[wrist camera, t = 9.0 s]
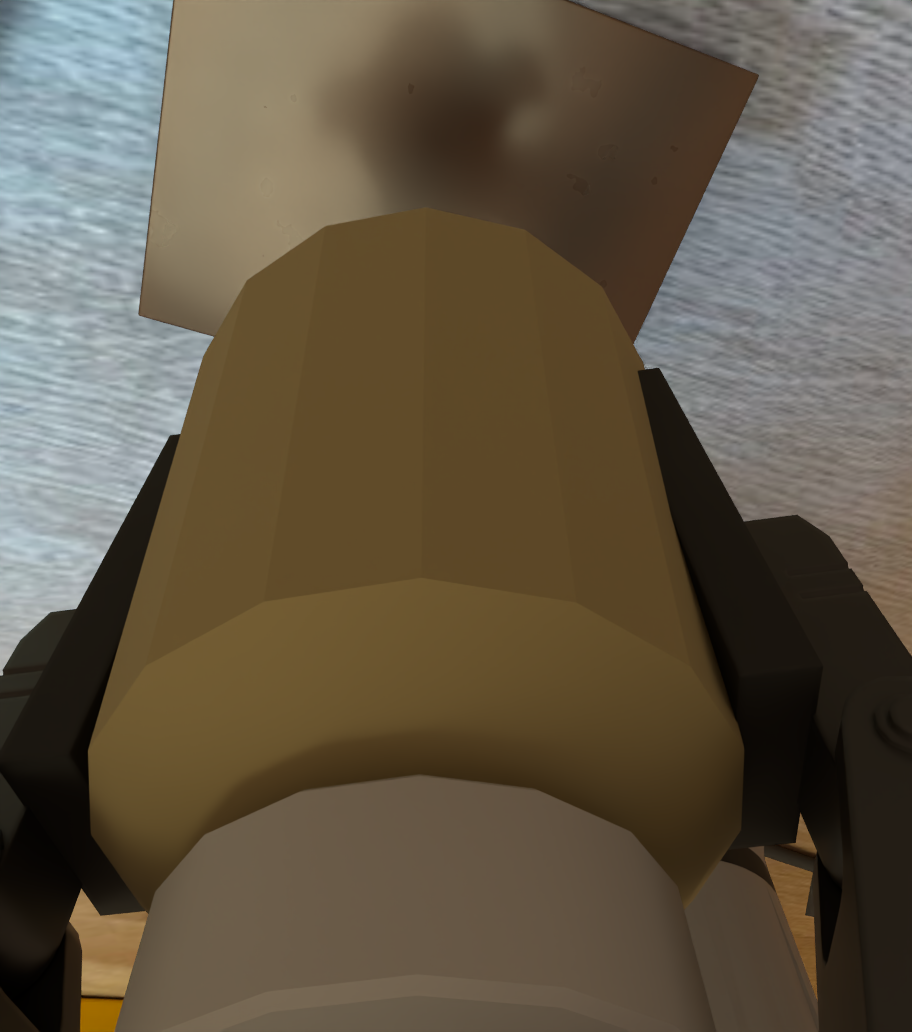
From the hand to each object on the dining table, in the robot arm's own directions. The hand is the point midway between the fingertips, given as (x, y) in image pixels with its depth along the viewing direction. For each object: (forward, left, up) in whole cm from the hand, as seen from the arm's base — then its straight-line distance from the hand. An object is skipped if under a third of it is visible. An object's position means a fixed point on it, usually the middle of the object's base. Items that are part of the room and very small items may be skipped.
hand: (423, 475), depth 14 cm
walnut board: (0, 0, -19) cm, 19 cm away
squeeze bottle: (0, 0, -5) cm, 5 cm away
